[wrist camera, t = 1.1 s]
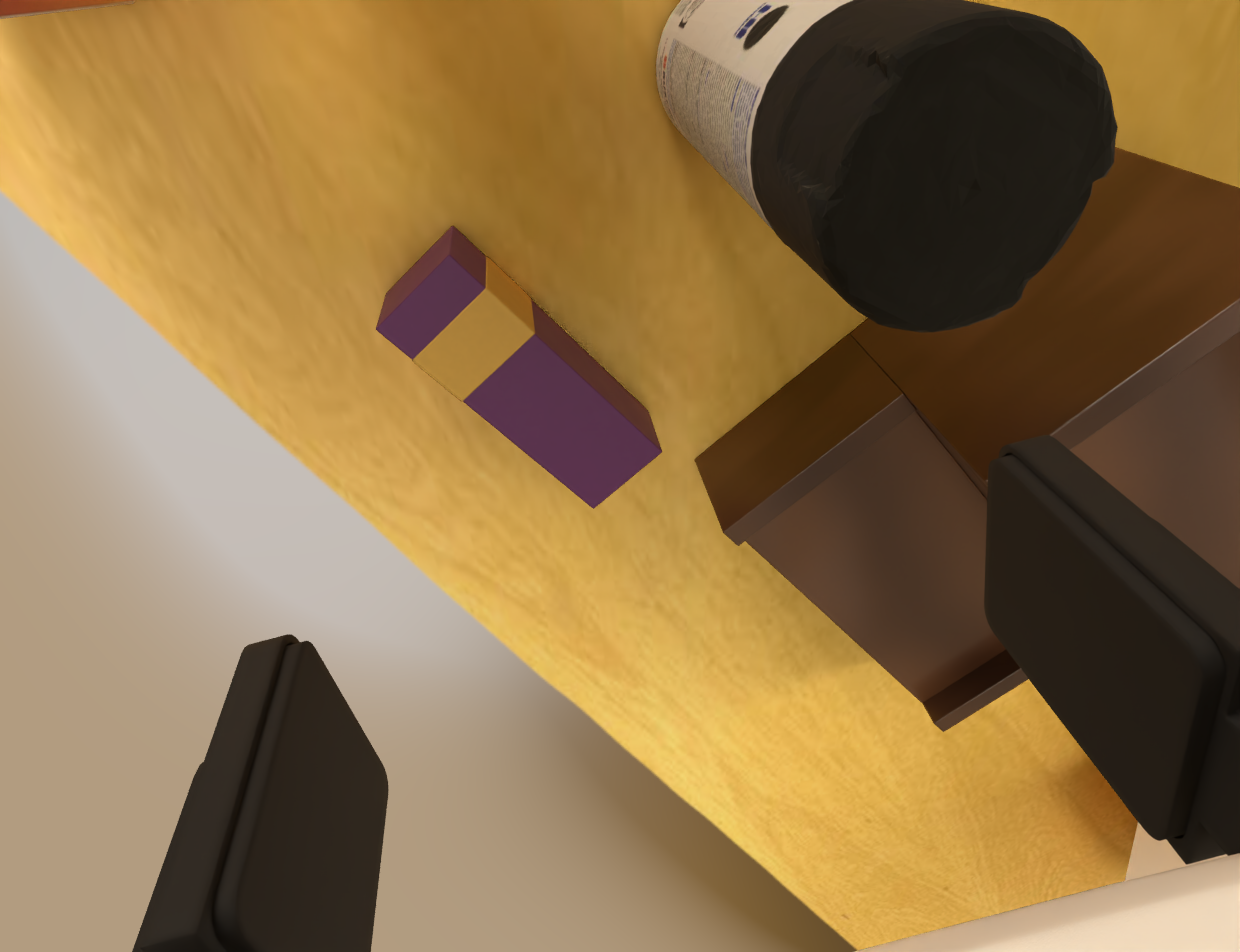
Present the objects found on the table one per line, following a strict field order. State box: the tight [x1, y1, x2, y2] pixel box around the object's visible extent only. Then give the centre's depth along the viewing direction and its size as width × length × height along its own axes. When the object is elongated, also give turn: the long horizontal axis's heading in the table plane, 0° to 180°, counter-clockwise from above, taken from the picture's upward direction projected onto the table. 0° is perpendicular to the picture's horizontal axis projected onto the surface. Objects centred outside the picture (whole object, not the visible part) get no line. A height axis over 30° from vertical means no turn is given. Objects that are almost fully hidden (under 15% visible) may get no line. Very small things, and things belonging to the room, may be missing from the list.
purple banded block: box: [376, 226, 662, 509], centre depth 38 cm, size 4×13×4 cm, turn 42°
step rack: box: [695, 147, 1240, 732], centre depth 39 cm, size 23×21×15 cm
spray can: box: [656, 0, 1117, 333], centre depth 25 cm, size 7×7×20 cm
